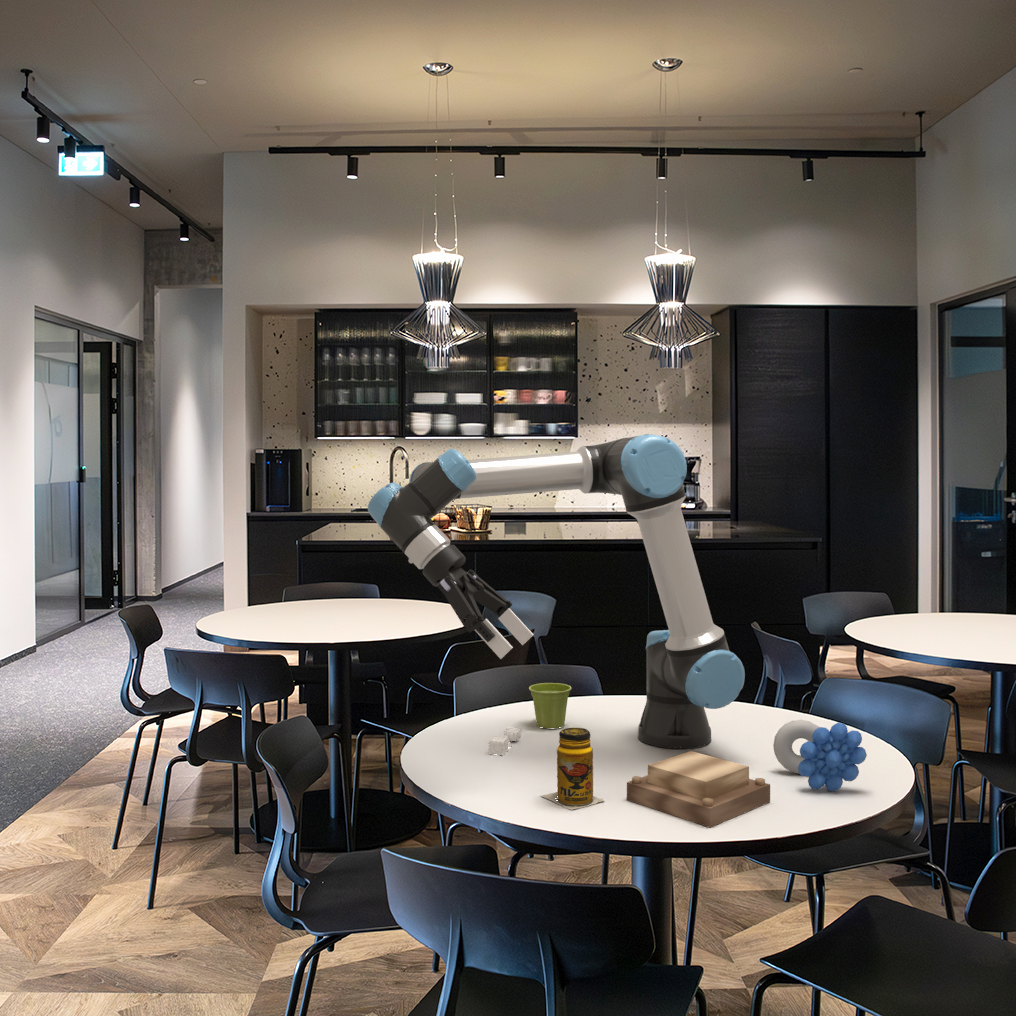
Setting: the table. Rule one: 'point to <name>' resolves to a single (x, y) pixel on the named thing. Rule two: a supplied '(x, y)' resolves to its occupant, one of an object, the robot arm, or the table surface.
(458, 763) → the table surface
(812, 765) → the blue sphere flower
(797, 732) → the donut
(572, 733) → the condiment
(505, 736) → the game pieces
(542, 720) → the plant pot
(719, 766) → the wooden riser
